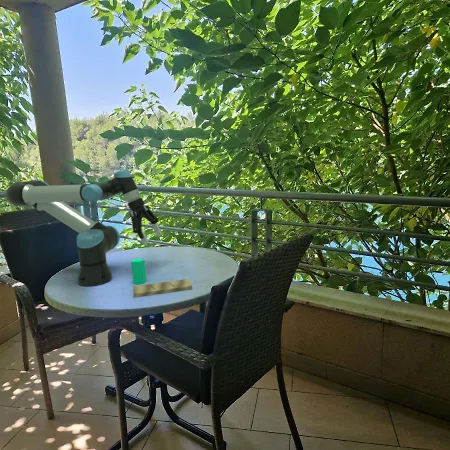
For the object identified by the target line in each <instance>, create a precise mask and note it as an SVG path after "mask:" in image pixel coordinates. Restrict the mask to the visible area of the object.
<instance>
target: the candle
mask: <svg viewBox="0 0 450 450" xmlns="http://www.w3.org/2000/svg"><path fill="white" fill-rule="evenodd" d="M130 264H131V276H132V283H133V284H134V285H144V284H146V283H147V282H148V281H147V271H146V269H147V268H146V262H145V259H144V258H138V256H137V258H133V259H132V260H131V261H130Z"/></svg>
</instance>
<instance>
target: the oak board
mask: <svg viewBox="0 0 450 450" xmlns="http://www.w3.org/2000/svg"><path fill="white" fill-rule="evenodd" d="M192 289H193V285H192V283H191V282H190V279H189V278H185V279H184V278H183V279H179V280H178V279H175V280H171V281H170V280H169V281H164V282H154V283H148V284H146V283H145V284H138V285H133V288H132V290H133V291H132V292H133V293H132V294H133V298H140V297H147V296H153V295H160V294H168V293H175V292H182V291H189V290H192Z"/></svg>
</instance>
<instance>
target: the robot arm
mask: <svg viewBox="0 0 450 450" xmlns="http://www.w3.org/2000/svg"><path fill="white" fill-rule="evenodd" d="M120 193H121V194H122V195H123V197H124V198H123V199H124V201H125V202H126V203H127V206H128V208H129V210H130V211H131V212H129V216H130V220H131V227H132V232H133V234H137V235H138V236H139V239H140V241H141V243H142V245H143V246H146V245H148V244H149V240H148V238H147V236H146V234H145V231H144V230H143V229H142V228H143V227H142V226H143V225H142V224H143V223H142V220H143V219H146V220H147V221H148V222H150V223H151V227H152V229H153V231H154V233H155V235H156V237H160V236H162V235H163V234H162V232H161V229H160V227H159V224H158V223H159V219H158V217H157V216H156V215H155V214H154V213H153V211H152V210H151V209H150V207H149V206H148V205H145V204H146V203H145V201H144V199H143V198H142V195H141V193H140V190H139V189H138V186H137V184H136V182H135V180H134V178H133V176H132V174H131V171H130V170H129V169H128V168H121V169H119V170H117V171H115V172H114V173H113V178H111V179H108V180H106V181H104V182H103V181H102V182H98V183H89V184H87V183H85V184H62V185H60V184H59V185H49V183H48V182H46V181H43V180H41V179H39V180H37V179H33V180H32V179H31V180H26V181H17V182H13V183H12V184H10V185H9V186H8V187H7V188H6V192H5V196H6V199H7V201H8V202H9V203H10V204H11V205H13V206H15V207H19V208H20V207H21V208H22V207H29V206H31V207H33V208H34V209H35V210H37V211H41V212H42V211H45V212H47V214H49V215H51V216H52V217H54V218H55V219H57V220H58V221H60V222H62V223H63V224H65V226H68V227H70V228H71V229H72V230H73V231H75V232H76V233H78V235H76V246H77V253H78V254H77V255H78V261H79V270H78V274H77V284H78V285H79V286H81V287H94V286H100V285H103V284H107V283H109V282H110V281H112V280H113V274H112V271H111V269H110V267H109V265H108V263H107V255H106V254H107V253H108V252H109V251H112V250H114V249H115V248H116V246H118V244H119V243H120V238H121V237H120V233H119V231H118V229H117V228H115V227H114V226H111V225H105V224H103V223H102V222H101V221H93V220H92V219H90V218H89V217H87V216H86V215H84V214H83V213H81V212H80V211H78V210H77V209H75V208H73V207H72V206H71V205H69V204H67V203H68V202H70V203H71V202H72V203H73V202H89V203H96V202H99V201H102V202H103V201H104V200H108V199H110V198H111V197H114V196H115V195H118V194H120Z"/></svg>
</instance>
